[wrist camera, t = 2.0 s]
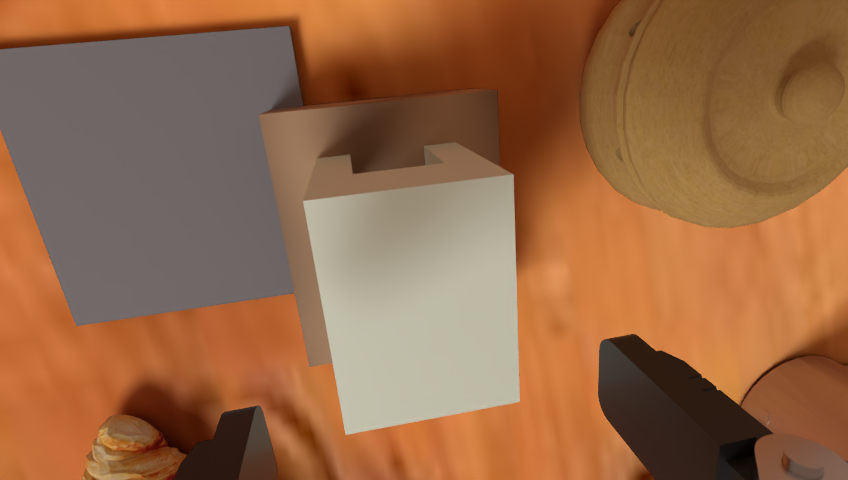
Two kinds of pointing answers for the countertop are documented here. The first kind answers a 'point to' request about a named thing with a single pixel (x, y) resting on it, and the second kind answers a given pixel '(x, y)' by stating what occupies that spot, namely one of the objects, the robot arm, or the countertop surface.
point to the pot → (719, 105)
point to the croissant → (131, 452)
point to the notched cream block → (417, 285)
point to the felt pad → (152, 166)
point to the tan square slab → (361, 164)
